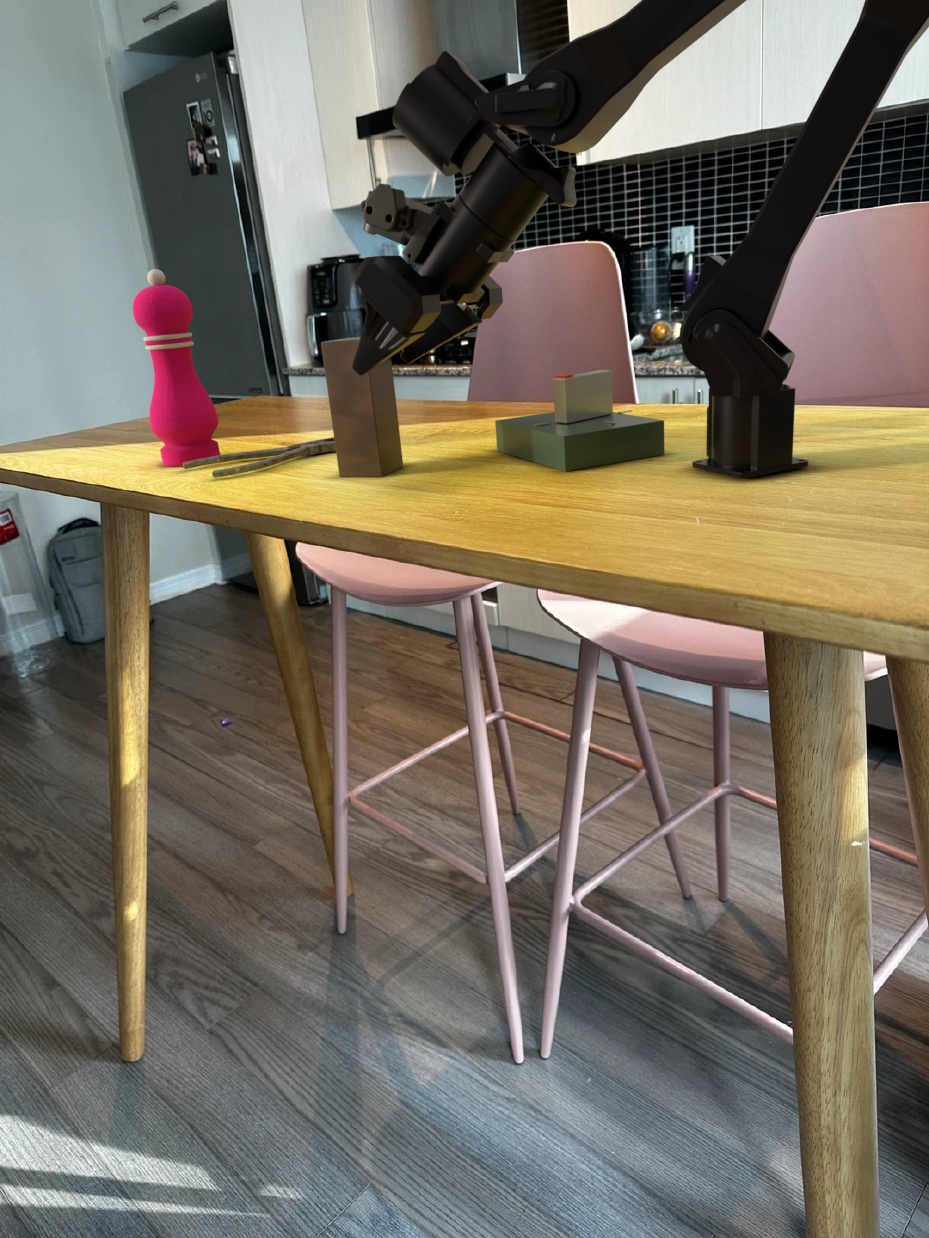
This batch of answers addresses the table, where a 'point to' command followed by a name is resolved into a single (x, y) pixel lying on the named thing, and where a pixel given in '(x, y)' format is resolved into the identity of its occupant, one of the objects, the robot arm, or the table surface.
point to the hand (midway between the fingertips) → (381, 365)
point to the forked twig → (278, 454)
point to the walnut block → (361, 412)
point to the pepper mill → (175, 375)
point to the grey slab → (582, 396)
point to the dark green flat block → (580, 439)
